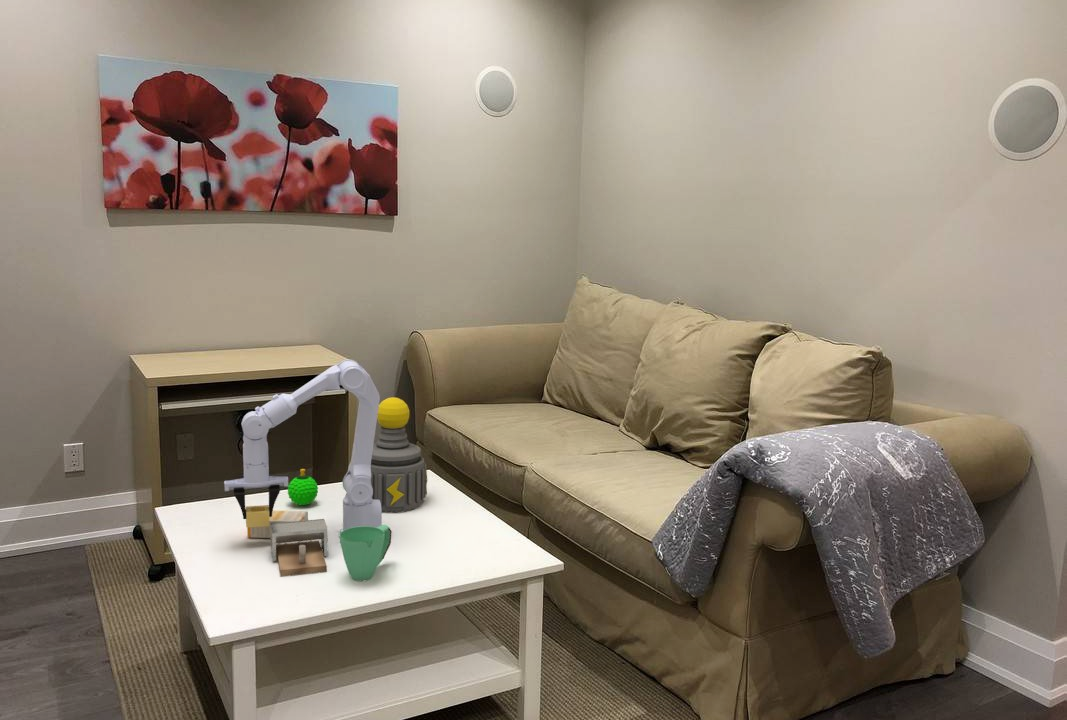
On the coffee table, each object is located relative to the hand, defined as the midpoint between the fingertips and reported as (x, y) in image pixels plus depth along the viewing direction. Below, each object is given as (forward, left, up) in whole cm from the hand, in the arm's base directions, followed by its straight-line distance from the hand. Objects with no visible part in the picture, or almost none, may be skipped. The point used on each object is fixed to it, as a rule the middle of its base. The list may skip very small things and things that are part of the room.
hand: (257, 516), depth 213 cm
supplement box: (+1, -9, -5) cm, 10 cm away
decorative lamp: (-37, -23, -7) cm, 44 cm away
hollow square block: (0, 0, -2) cm, 2 cm away
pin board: (-9, +13, -7) cm, 17 cm away
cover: (-9, +9, -7) cm, 15 cm away
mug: (-23, +24, -7) cm, 34 cm away
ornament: (-13, -27, -7) cm, 31 cm away
